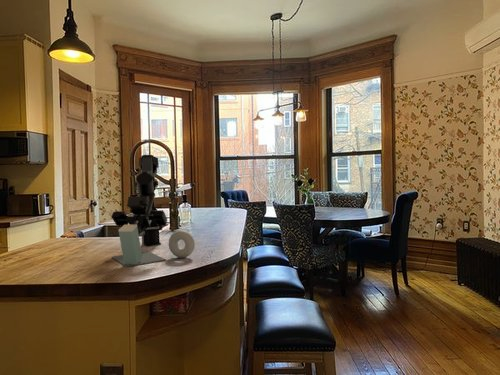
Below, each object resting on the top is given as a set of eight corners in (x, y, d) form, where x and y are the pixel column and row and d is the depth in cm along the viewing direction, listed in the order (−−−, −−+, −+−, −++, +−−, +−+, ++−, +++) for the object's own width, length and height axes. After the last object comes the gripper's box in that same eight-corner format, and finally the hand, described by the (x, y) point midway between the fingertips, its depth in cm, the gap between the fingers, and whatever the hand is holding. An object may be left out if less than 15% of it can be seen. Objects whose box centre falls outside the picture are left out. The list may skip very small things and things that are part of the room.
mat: (148, 252, 144) (148, 251, 144) (165, 260, 130) (165, 259, 130) (112, 257, 137) (112, 256, 137) (126, 267, 122) (126, 266, 122)
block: (129, 258, 129) (124, 224, 125) (142, 258, 128) (137, 224, 125) (124, 264, 124) (118, 229, 121) (137, 264, 124) (131, 229, 120)
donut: (196, 257, 133) (195, 229, 133) (192, 259, 130) (191, 231, 130) (171, 256, 136) (170, 229, 136) (167, 258, 133) (166, 230, 132)
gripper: (112, 188, 132) (97, 224, 122) (163, 187, 130) (152, 223, 119) (123, 208, 140) (110, 243, 130) (171, 207, 138) (162, 242, 128)
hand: (133, 237), depth 126 cm, fingers closed, pressing on block
